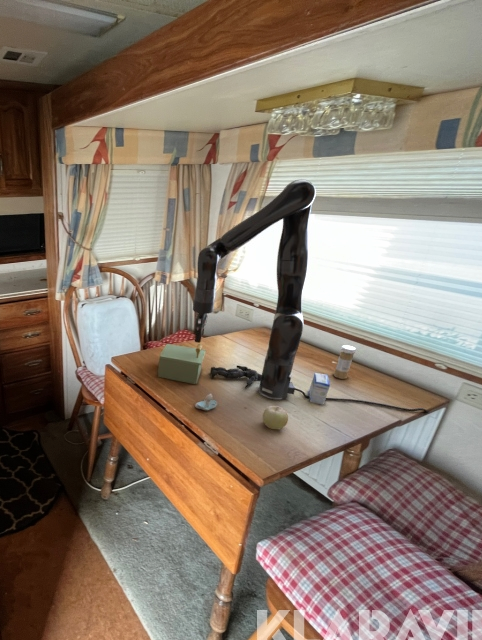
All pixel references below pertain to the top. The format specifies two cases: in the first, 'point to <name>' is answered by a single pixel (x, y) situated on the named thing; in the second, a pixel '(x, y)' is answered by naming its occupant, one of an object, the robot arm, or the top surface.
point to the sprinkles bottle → (344, 361)
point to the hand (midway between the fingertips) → (199, 338)
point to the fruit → (275, 417)
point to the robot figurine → (236, 374)
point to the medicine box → (319, 388)
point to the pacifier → (206, 403)
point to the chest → (179, 370)
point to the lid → (183, 354)
